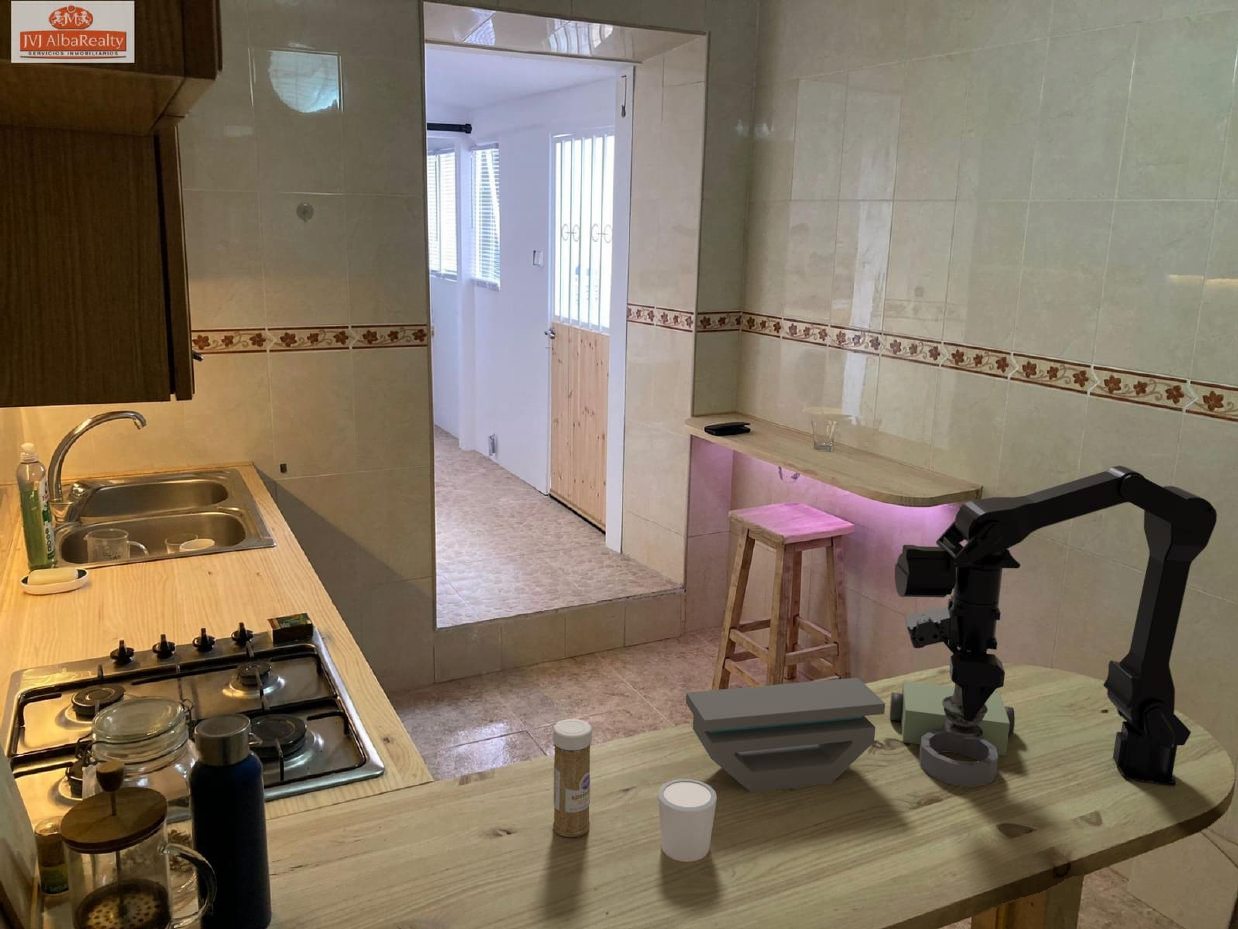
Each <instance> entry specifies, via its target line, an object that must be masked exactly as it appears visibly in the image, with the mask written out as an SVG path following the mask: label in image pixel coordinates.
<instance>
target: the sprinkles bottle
mask: <svg viewBox="0 0 1238 929" xmlns="http://www.w3.org/2000/svg"><path fill="white" fill-rule="evenodd" d="M592 732H593V729H592V726H591V724H589V722H587V721H585V720H582V719H577V718H568V719H563V720H560V721H558V722H556V723H555V724H554V726H553V732H552V733H553V734H552V742H553V747H554V759H553V760H554V761H553V762H554V763H553V806H554V807H553V810H554V815H553V823H552V825H553V826H552V827H553V830H554V832H555V833H557V834H558V835H560V836H562V837H566V838H575V837H580V836H582V835H584V834H586V833H587V832H589V830H590V825H591V822H590V803H591V773H590V771H591V770H590V769H591V744H592V739H593V733H592Z"/></svg>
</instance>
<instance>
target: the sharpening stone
mask: <svg viewBox="0 0 1238 929" xmlns="http://www.w3.org/2000/svg"><path fill="white" fill-rule="evenodd" d="M685 697H686V698H685V704H686V705H687V707H688V709H689V710H690V712H691V714H692V715H693V718H692V730H693V732H694V733H695V735H696V736H697V739H698V740H699V741H700V743H701V745H702V746H703V748H704V749H705V751H706V753H707V754H708V757H710V759H711V760H712V761H713V762H714V763H716V764H717V765H718V766H719V767H720V768H722V769H723V770H724V771H725V772H726V773H728V775H730V776H731V777H732V778H733V779H735V780H736V781H737V782H738V783H739V784H740V785H742V786H743V787H744V788H745V789H747V791H749V792H750V793H753V792H762V791H773V790H780V789H789V788H797V787H798V788H799V787H807V786H816V785H825V784H826V785H827V784H833V783H834V782H835V781H836V779H838V778H839V777H840V775H842V774H843V773H844V772H845V771H846V770H847V769H848V768H849V767H850V766H851V765H852V764H853V763H854V762H855V761H856V760H857V759H858V758H859V757H861V755H863V754H864V752H865V751H866V750H867V749H869V748H870V747H871V746H872V745H873V744H874V743H875V737H876V726H875V725H874V724H873V723H872V722H871V721H870V720H869V719H868V718H867V717H869V716H879V715H880V716H882V715H885V712H886V711H885V709H886V703H885V702H884V700H882V699H881V698H880V697H879V696H878V695H877V694H876V693H875V692H874V691H873V690H872V689H871V688H870V687H868V686H867V685H866V684H865V683H864V682H863V681H862V680H861V679H860V678H859V677H851V678H840V679H837V678H836V679H828V680H816V681H805V682H804V681H803V682H793V683H783V684H782V683H781V684H780V683H779V684H770V685H759V686H749V687H748V686H747V687H736V688H735V687H734V688H724V689H723V688H722V689H712V690H710V689H709V690H700V691H688V692H686V696H685Z"/></svg>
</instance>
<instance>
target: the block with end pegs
mask: <svg viewBox="0 0 1238 929" xmlns="http://www.w3.org/2000/svg"><path fill="white" fill-rule="evenodd" d="M901 686H902V687H901V693H899V692H898V693H897V692H891V695H890V702H889V703H890V704H889V705H890V706H889V720H891V721H892V720H893V721H899V722H900V724H901V726H900V727H901V738H902V739H903V740H902V742H903V743H909V744H916V745H919V755H918V757H919V765H920V766H919V767H921V769H923V770H924V771H925V772H926V773H927V774H928V775H929V776H931V777H933V778H935V779H937V780H939V781H942V782H943V783H944V782H945V783H947V784H949V785H955V786H961V787H969V788H973V787H979V786H985V785H989V784H990V783H991V782H992V781H993V780H994V779H995V778H997V770H998V763H999V756H1003V757H1005V756H1007V748H1008V740H1009V736H1013V734H1014V731H1015V722H1016V721H1015V719H1016V717H1015V715H1016V714H1015V709H1014V707H1012V706H1005V704H1004V700H1003V697H1002V694H1001V692H1000V691H994V692H993V694H992V695H991V696H990V697H989V699H988V700H987V701H986V703H985V705H986V706H987V708H988V711H987V713H986V714H985V716H984V718H983V720H982V721H981V723H979V724H977V725H978V726H979V727H980V728H981V729H982V730H983V734H982V736H981V737H979V738H976V739H963V738H958V737H954V736H952V735H950V734H948V733H946V732H945V731H944V730H943V728H942V724H943V722H945V721H946V720H949V719H948V718H947V717H946V715H945V712H944V707H943V705H942V700H943V699H944V698H946V697H948V696H953V693H954V689H955V686H951V685H943V684H934V683H926V682H918V681H911V680H902V684H901ZM945 752H947V753H948V752H949V753H955V754H962V755H965V756H967V757H970V758H973V759H975V760H976V761H972V762H971V761H963V760H955V759H952V758H950V757H947V756H944V755H942V754H940V753H945Z"/></svg>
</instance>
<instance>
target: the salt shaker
mask: <svg viewBox="0 0 1238 929" xmlns="http://www.w3.org/2000/svg"><path fill="white" fill-rule="evenodd" d="M954 687H955V689H954V693H953V696H948V697H946V698H944V699H943V700H942V705H943V707H944V712H945V715H946V717H947V718H948V719H949V720H946V721H945V722H943V724H942V728H943V730H944V731H945V732H946V733H948V734H950V735H952V736H954V737H958V738H963V739H976V738H979V737H981V736H982V734H983V730H982V729H981V728H980V727H979V726H978V725H977V724H979V723H981V721H982V720H983V718H984V716H985V714H986V713H987V711H988V708H987V706H986V705H985V704H984V705H983V707H982V708H981V710H980V711H979V713H978V714H977V715H976V717H975V718H974V720H973V721H965V720H964V718H963V709H962V698H961V688H960V687H959V686H958V685H957V684H956V683H954Z"/></svg>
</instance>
